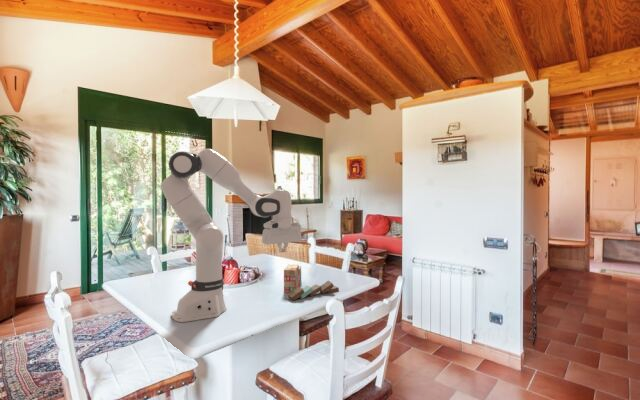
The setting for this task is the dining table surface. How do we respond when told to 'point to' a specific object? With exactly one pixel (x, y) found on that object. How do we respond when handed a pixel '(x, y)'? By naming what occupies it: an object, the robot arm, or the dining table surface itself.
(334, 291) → the domino
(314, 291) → the domino
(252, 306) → the dining table surface
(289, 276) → the printed cardboard box
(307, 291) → the teal domino
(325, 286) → the domino
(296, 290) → the domino
